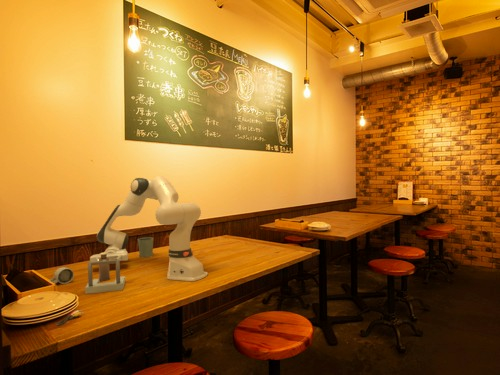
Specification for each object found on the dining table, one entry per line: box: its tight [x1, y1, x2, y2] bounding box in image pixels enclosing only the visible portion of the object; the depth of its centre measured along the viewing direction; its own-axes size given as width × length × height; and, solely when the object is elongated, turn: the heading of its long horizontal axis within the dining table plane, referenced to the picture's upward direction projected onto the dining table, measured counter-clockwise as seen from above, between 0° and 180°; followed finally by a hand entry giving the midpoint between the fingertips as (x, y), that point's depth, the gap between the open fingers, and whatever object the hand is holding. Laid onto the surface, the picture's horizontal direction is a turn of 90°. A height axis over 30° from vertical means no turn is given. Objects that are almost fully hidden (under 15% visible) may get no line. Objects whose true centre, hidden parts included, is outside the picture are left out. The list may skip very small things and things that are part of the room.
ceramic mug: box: [49, 266, 75, 285], centre depth 161 cm, size 11×8×8 cm
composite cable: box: [56, 309, 84, 327], centre depth 118 cm, size 10×5×2 cm, turn 155°
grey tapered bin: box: [137, 237, 154, 258], centre depth 214 cm, size 10×10×12 cm
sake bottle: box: [98, 251, 111, 282], centre depth 164 cm, size 5×5×14 cm
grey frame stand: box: [84, 260, 126, 295], centre depth 152 cm, size 12×16×14 cm
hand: (107, 260), depth 176 cm, fingers open, 8 cm apart
